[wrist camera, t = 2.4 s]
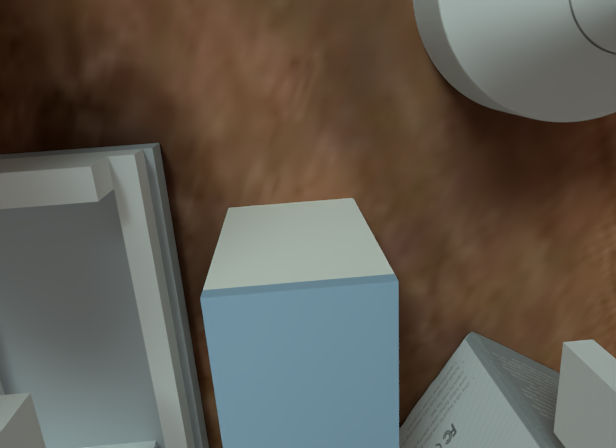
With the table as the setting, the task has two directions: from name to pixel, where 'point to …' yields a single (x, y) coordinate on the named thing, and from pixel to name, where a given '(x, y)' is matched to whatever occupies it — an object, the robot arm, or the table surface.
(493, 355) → the hard drive box
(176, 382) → the rail
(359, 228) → the module
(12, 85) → the table surface
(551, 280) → the table surface
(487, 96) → the wall hook
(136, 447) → the block
